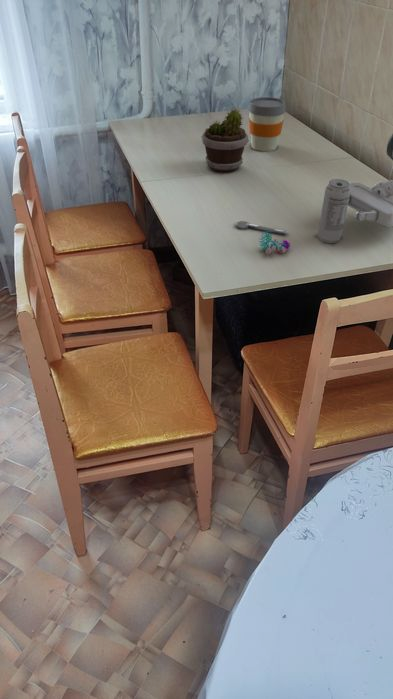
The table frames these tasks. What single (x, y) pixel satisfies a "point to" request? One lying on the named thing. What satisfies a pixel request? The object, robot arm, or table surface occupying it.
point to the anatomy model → (268, 249)
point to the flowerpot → (225, 143)
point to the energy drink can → (334, 210)
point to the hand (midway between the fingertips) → (345, 209)
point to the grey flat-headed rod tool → (258, 227)
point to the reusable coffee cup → (265, 122)
